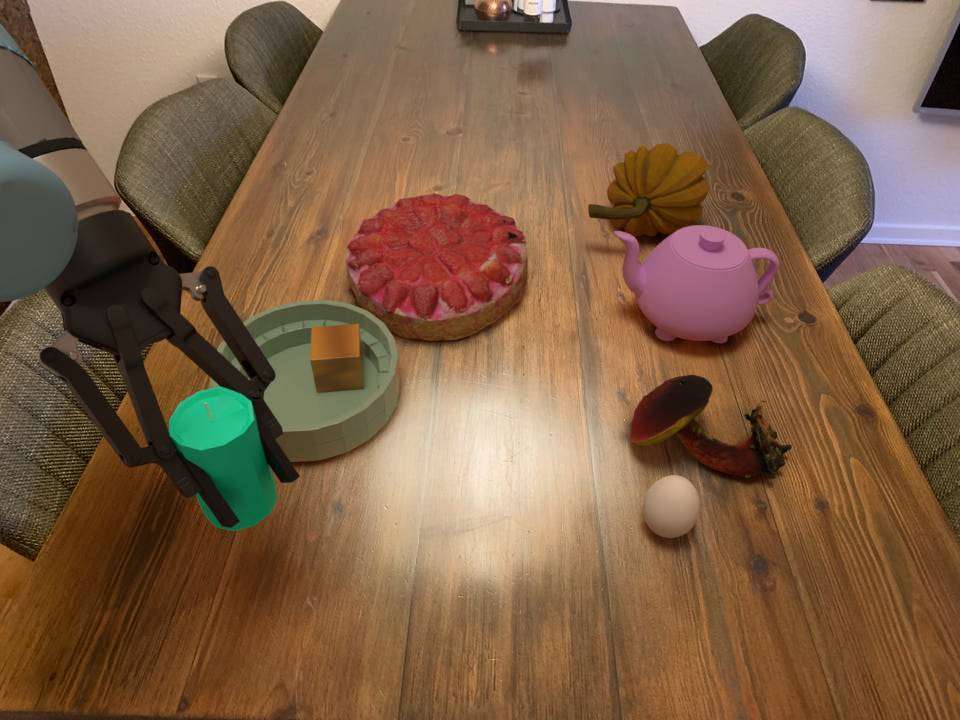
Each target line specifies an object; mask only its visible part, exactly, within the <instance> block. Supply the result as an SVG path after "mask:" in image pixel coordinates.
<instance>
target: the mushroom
mask: <svg viewBox="0 0 960 720" xmlns="http://www.w3.org/2000/svg"><path fill="white" fill-rule="evenodd" d="M713 390H714V387H713V385H712V383H711V382H710V381H709V379H707V378H706V377H703V376H700V375H698V374H686V375H680V376H679V375H678V376H675V377H672V378H669V379H667V380H664V381H663V382H662V383H661V384H659V385H658V386H656V387H654V388H653V389H652V390H651V391H650V392H648V393H647V394H645V395H643V397H642V399H641V400H639V402H638V404H637V405H636V407H635V410H634V412H633V416H632V420H631V429H630V441H631V442H632V443H635V445H638V446H642V447H648V446H649V447H650V446H652V445H656V444H658V443H661V442H663V441H665V440H667V439H668V438H670V437H672V436H673V435H675V434H676V435H677V436H678V437H679V439H680V441H681V442H682V444H683V445H684V446H685V448H686V449H687V451H688V452H689V453H690V454H691V455H692V456H693V457H694V459H696V460H697V461H699V462H700V463H701V464H703V465H704V466H706V467H708V468H710V469H712V470H715V471H718V472H721V473H723V474H726V475H730V476H740V477H741V476H742V477H745V478H749V479H750V478H751V477H752V476H755V477H758V475H760V474H762V473H765V474H768V475H770V476H771V478H772V479H773V480H774V479H776V475H775V474H776V472H778V471H779V470H780V469H781V468H782V467H785V464H786V461H785V460H784V459H783V456H784V454H786V453H787V452H788V451H790V450H792V448H793V446H792V444H781V443H779V442H778V441H776V440H777V439H778V431H776V430H774V429H773V428H772V426H771V424H769V422H768V420H767V419H766V418H765V417H764V416H763V415H764V413H763V410H762V409H763V407H762V405H760V404H761V403H767V401H766V400H761V401H760V402H759V403H758V404H757V405H756V407H755V408H753V409H752V410H751V412H750V413H748V412H747V413H744V418H745V420H747V421H749V422H750V425H751V427H750V432H751V435H750V436H749V437H747V438H746V439H744V440H743V441H742V442H740V443H739V444H735V445H734V444H729V443H727V442H723V441H721V440H718V439H716V438H714V437H712V436H711V435H710V434H709V433H708V432H707V430H705V429H704V427H703V426H702V424H701V423H699V422H698V421H697V420H696V418H697V417H698V416H699V415H701V413H702V412H703V411H704V410H705V409H706V407H707V406H708V404H709V401H710V398H711V396H712V394H713Z"/></svg>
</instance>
